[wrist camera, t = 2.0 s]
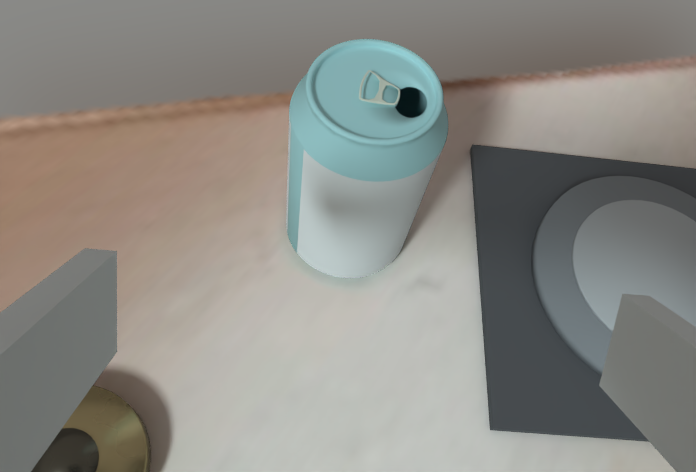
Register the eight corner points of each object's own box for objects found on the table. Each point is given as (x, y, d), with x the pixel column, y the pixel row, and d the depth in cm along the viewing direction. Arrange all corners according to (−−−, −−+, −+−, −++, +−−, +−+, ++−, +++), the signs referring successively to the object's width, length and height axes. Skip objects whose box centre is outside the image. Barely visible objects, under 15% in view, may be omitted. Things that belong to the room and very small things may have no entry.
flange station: (753, 179, 39) (773, 164, 38) (853, 456, 31) (884, 450, 29) (470, 149, 38) (478, 131, 36) (490, 429, 29) (502, 423, 28)
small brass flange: (164, 396, 28) (159, 389, 27) (131, 558, 25) (124, 558, 24) (18, 385, 28) (7, 378, 27) (-36, 549, 24) (-51, 549, 23)
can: (374, 167, 36) (413, 13, 26) (423, 260, 34) (489, 129, 23) (269, 198, 35) (266, 45, 24) (312, 299, 32) (329, 175, 21)
